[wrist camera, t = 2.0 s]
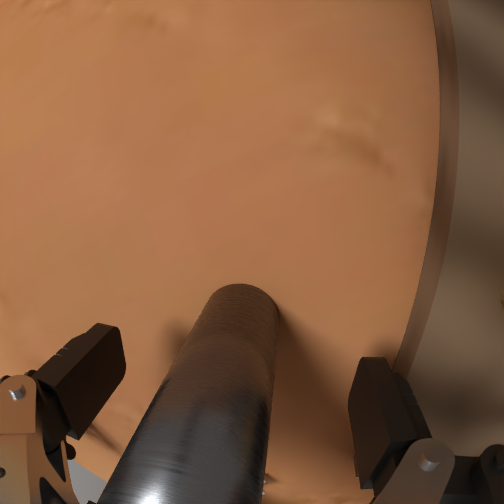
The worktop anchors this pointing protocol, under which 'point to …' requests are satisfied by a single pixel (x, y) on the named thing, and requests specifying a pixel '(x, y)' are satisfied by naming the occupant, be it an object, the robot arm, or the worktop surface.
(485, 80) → the board
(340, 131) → the worktop surface
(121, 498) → the hinge pin
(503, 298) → the hinge knuckles
